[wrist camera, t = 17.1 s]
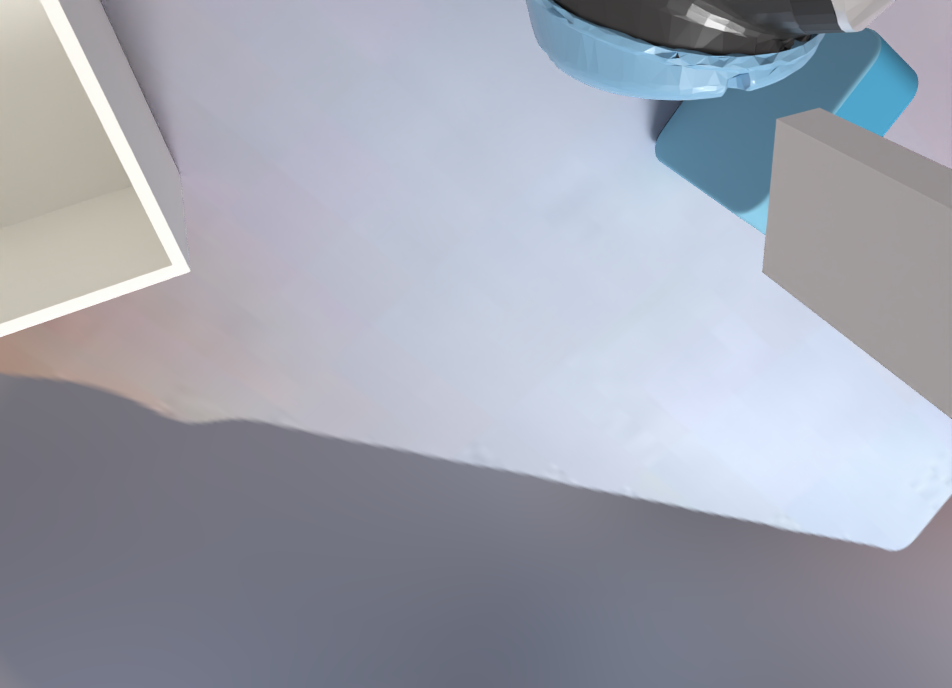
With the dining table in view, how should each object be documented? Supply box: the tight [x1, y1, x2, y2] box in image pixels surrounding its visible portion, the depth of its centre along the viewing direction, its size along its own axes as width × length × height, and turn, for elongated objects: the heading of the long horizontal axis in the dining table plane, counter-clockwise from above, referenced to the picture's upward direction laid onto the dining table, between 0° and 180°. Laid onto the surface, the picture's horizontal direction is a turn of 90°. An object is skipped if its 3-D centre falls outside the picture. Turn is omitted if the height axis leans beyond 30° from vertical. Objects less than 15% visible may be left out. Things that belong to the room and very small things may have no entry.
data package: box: [655, 28, 918, 235], centre depth 52 cm, size 12×4×12 cm, turn 145°
